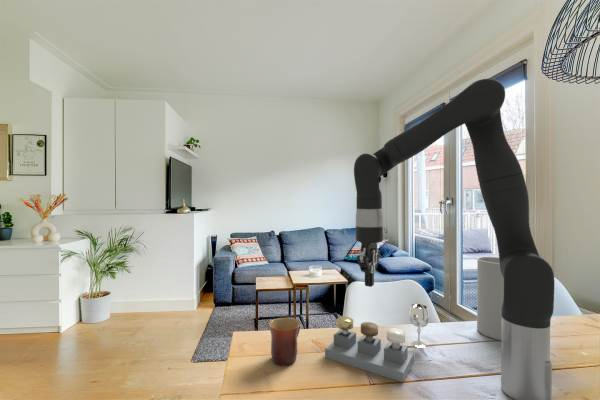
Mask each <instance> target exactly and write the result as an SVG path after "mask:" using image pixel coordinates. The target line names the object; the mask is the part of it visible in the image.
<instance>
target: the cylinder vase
mask: <svg viewBox="0 0 600 400" xmlns="http://www.w3.org/2000/svg"><path fill="white" fill-rule="evenodd" d="M476 259H477V262H476V263H477V269H476V270H477V275H476V278H477V280H476V281H477V282H476V285H477V286H476V289H477V290H476V293H477V294H476V295H477V296H476V297H477V298H476V329H477V330H478V332H479V333H480V334H481V335H483V336H485V337H487V338H489V337H490V339H492V338H493V340H497V341H501V326H502V305H503V300H504V277H503V276H502V273H501V270H500V261H499V256H498V257H497V256H481V257H477V258H476Z"/></svg>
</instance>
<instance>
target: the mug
mask: <svg viewBox="0 0 600 400" xmlns="http://www.w3.org/2000/svg"><path fill="white" fill-rule="evenodd" d="M300 327H301V322H300V320H299V319H298V318H292V317H279V318H275V319H272V320H270V321H269V323H268V328H269V330H270V334H271V335H270V337H271V340H270V341H271V342H270V356H271V360H272V362H273V363H274V364H276V365H279V366H289V365H292V364H294V362H296V361H297V357H298V337H299V334H300Z"/></svg>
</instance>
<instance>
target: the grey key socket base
mask: <svg viewBox="0 0 600 400" xmlns="http://www.w3.org/2000/svg"><path fill="white" fill-rule="evenodd" d="M381 340H382V339H381V338H379V337H376V336H373V344H372V343H368V342H366V335H363V334H362V336H361V337H358V336H357V332H355V331H352V330H348V337H346V336H342V329H339V330H338V331H336V332H335V333H334V334H333V341H332V342H331V343H330V344H329V345H327V347H325V348H324V357H325V358H326V359H329V360H333V361H335V362H339V363H342V364H345V365H347V366H351V367H354V368H357V369H361V370H363V371H366V372H370V373H373V374H376V375H379V376H382V377H385V378H388V379H392V380H395V381H397V382H400V383H404V382H405V380H406V378H407V376H408V374H409V372H410V370H411V368H412V366H413V364H414V362H415V352H414V351H410V350H408V347H409V346H408V345H406V344H403V343H400V351H398V350H395V349H392V342H390V341H388V342H387V344H384V343H381Z"/></svg>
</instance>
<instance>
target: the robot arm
mask: <svg viewBox="0 0 600 400" xmlns="http://www.w3.org/2000/svg"><path fill="white" fill-rule="evenodd" d="M505 99H506V89H505V86H504V85H503V84H502V83H501V82H500V81H499V80H496V79H495V78H481V79H478V80H476V81H473V82H472V83H471V84H469V85H468V86H467V87H466V88H464V89H463V90H462V91H461V92H459V94H457V95H456V96H455V97H453V98H452V99H451V100H449V101H448V102H447V103H446V104H444V105H443V106H442V107H441V108H439V109H438V110H437V111H435V112H433V113H432V114H430V115H429V116H427V117H426V118H424V119H422V120H421V121H419V122H418V123H416V124H415V125H413V126H411V127H409V128H408V129H406V130H405V131H403V132H401V133H400V134H398V135H395V136H394V137H393V138H390V140H388V141H387V142H385V143H384V145H383V147H382V148H380V149H378V150H377V151H375V152H374V153H366V152H365V153H362V154H360V155H359V156H358V157H357V158H356V159H355V161H354V166H353V176H354V177H353V178H354V183H355V190H356V199H355V200H356V211H355V212H356V213H355V241H356V242H357V243H360V244H361V245H360V251H359V253H360V254H359V255H357V256H356V260H357V262H358V266H359V268H360V271H361V273H362V272H363V273H364V285H365V286H366V287H369V288H370V287H371V288H372V287H373V286H374V285H375V272H376V270H377V269H378V266H379V261H380V260H379V259H380V256H381V250H379V248H378V243H381V242H383V241H384V231H383V230H384V227H383V226H384V225H383V224H384V221H383V220H384V217H383V211H382V210H383V208H382V205H383V201H382V199H383V198H382V191H381V189H380V177H382V176H384V175H385V174H386V173H388V172H390V171H391V170H392V169H393V168H395V167H396V166H397V165H400V164H402V163H403V162H405V161H407V160H409V159H410V158H412V157H414V156H416V155H418V154H420V153H422V152H423V151H424V150H426V149H427V148H429V147H430V146H431V145H432V144H434V143H436V142H437V141H439V139H441V138H442V137H444V136H446V135H447V134H448V133H450V132H452V131H454V130H455V129H457V128H458V127H460V126H461V127H462V125H465V127H466V130H467V133H468V135H469V138H470V141H471V145H472V148H473V149H472V150H473V157H474V163H475V169H476V170H475V171H476V175H477V180H478V184H479V188H480V192H481V196H482V199H483V202H484V206H485V209H486V212H487V215H488V217H489V221H490V222H491V225H492V228H493V231H494V234H495V238H496V239H495V240H496V244H497V251H498V257H499V261H500V270H501V273H502V276H503V277H504V300H503V305H502V326H501V340H500V341H501V342H500V343H501V345H500V346H501V349H500V356H501V357H500V388H501V390H502V391H503V392H504V394H505V395H507V396H508V397H510V398H511V399H513V400H553V398H552V397H553V394H552V392H553V391H552V390H553V387H552V386H553V385H552V384H553V382H552V381H553V365H552V361H551V319H552V316H553V315H554V309H555V308H554V306H555V304H554V303H555V273H554V271H553V268H552V266H551V265H550V264H549V263H548V262H547V261H546V260H545V259H544V258H542V257H541V255H540V254H539V252H538V249H537V246H536V244H535V241H534V239H533V235H532V232H531V227H530V201H529V200H530V199H529V192H528V188H527V184H526V181H525V175H524V172H523V169H522V166H521V164H520V162H519V160H518V158H517V156H516V154H515V153H514V150H513V149H512V147H511V146H510V144H509V142H508V140H507V138H506V135H505V131H504V127H503V122H502V116H501V114H502V112H501V108H502V106H504V105H503V104H504V103H505Z"/></svg>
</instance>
